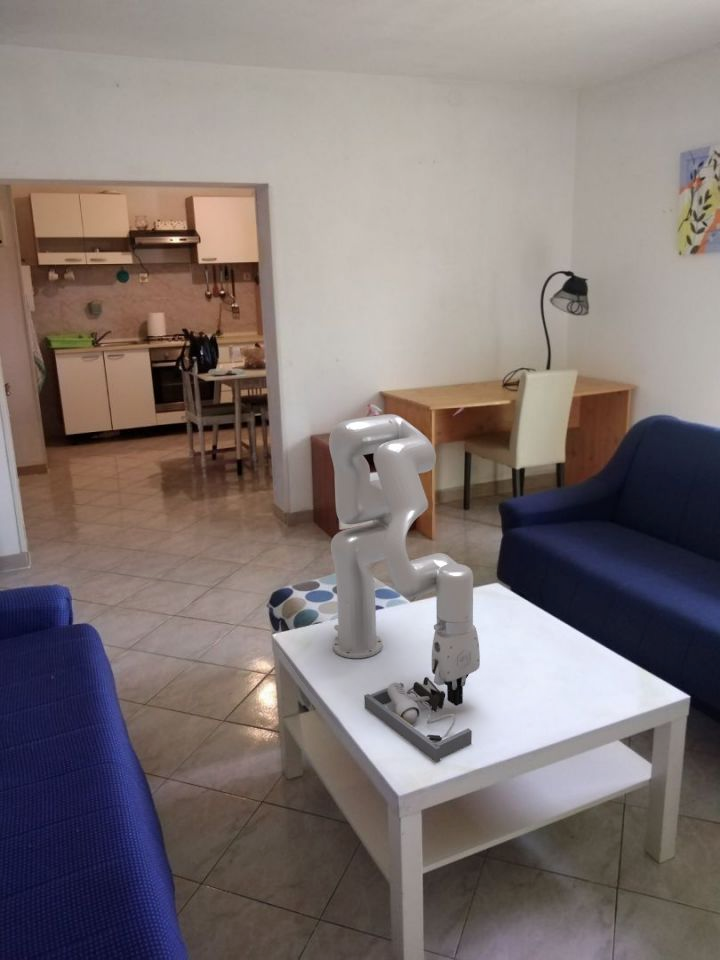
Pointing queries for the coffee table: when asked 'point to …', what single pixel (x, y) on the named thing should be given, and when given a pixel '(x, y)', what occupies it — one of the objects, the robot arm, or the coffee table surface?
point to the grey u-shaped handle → (412, 735)
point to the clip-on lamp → (410, 708)
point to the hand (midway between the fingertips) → (454, 702)
